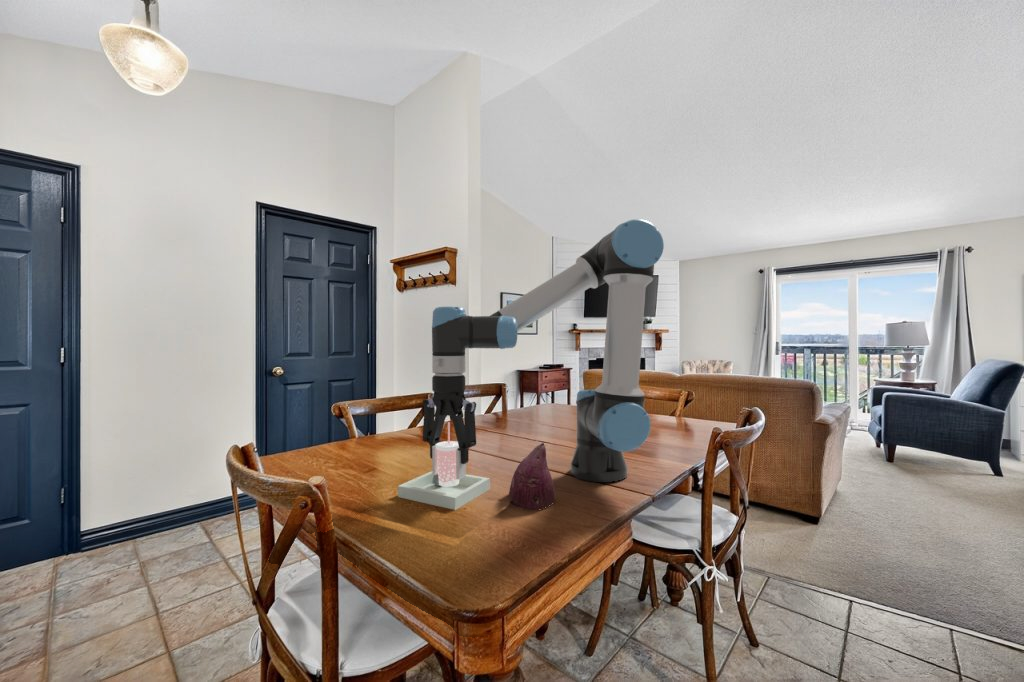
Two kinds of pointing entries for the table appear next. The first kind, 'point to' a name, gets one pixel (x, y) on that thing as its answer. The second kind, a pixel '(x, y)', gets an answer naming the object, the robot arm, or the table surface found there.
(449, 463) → the beverage cup
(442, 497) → the tray
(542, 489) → the vegetable
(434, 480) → the ball
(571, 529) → the table surface
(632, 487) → the table surface
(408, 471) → the table surface
